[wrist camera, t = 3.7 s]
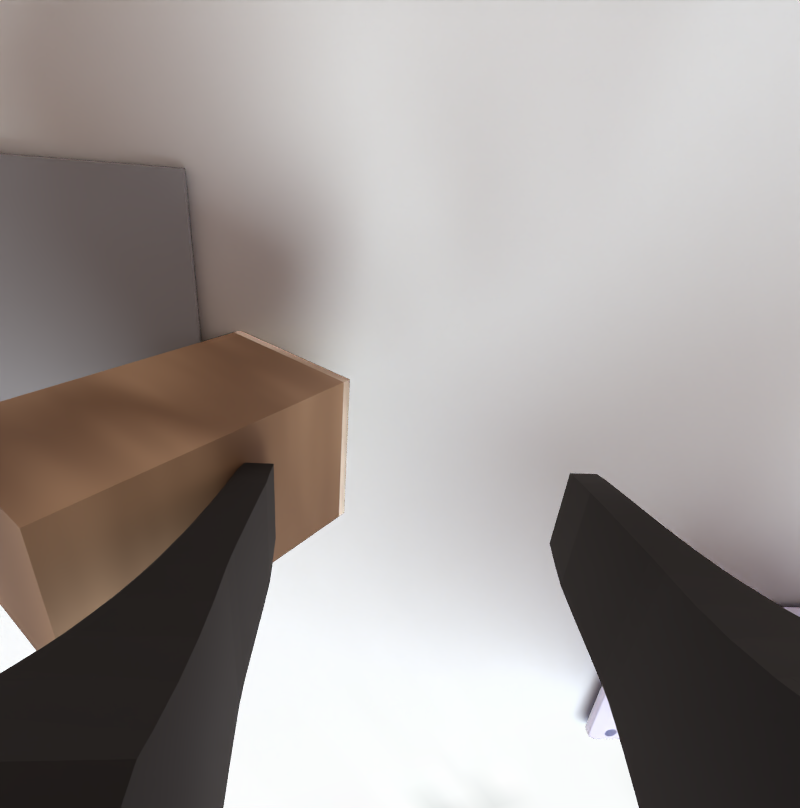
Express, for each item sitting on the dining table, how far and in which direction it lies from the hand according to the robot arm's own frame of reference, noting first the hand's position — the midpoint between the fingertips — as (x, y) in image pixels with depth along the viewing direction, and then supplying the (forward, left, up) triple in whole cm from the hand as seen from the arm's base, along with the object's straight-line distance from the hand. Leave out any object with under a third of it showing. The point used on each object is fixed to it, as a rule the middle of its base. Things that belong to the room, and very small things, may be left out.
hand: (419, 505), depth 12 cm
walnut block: (+3, 0, -4) cm, 5 cm away
